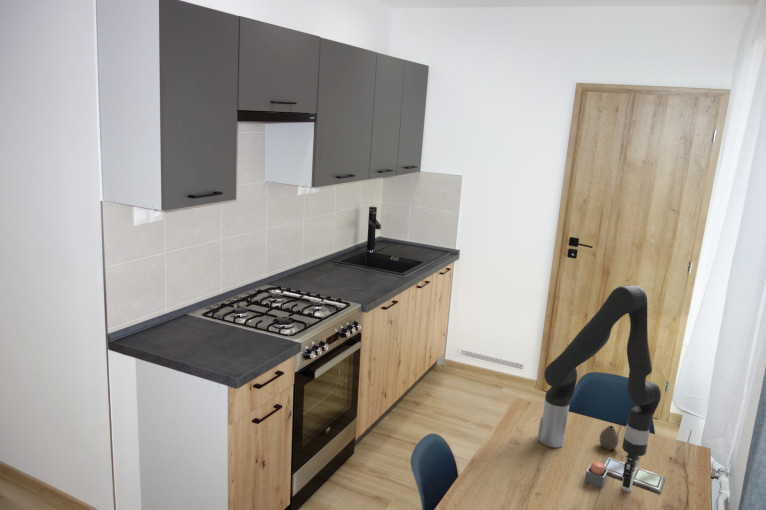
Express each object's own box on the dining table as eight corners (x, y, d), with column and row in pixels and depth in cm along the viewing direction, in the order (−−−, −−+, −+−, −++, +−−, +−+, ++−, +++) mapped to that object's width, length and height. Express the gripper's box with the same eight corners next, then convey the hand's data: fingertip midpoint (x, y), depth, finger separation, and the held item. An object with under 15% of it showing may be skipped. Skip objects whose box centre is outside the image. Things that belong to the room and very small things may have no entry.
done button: (588, 474, 211) (590, 465, 211) (591, 468, 215) (593, 460, 214) (601, 479, 209) (603, 470, 208) (604, 473, 213) (606, 464, 212)
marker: (620, 489, 209) (625, 460, 206) (622, 484, 212) (627, 456, 209) (630, 493, 207) (636, 464, 204) (632, 488, 210) (638, 460, 207)
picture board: (600, 471, 218) (600, 469, 218) (607, 458, 228) (607, 456, 227) (659, 493, 208) (660, 490, 208) (664, 478, 217) (665, 476, 217)
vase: (618, 453, 232) (622, 432, 230) (599, 450, 233) (603, 429, 231) (615, 444, 239) (619, 424, 237) (597, 441, 240) (600, 421, 238)
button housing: (584, 481, 212) (586, 471, 211) (589, 473, 217) (590, 463, 216) (602, 487, 209) (604, 477, 208) (606, 480, 214) (608, 469, 213)
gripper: (628, 426, 213) (620, 469, 217) (619, 442, 201) (611, 488, 205) (651, 433, 209) (642, 477, 213) (643, 450, 197) (634, 497, 201)
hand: (627, 482), depth 209 cm, fingers open, 5 cm apart
